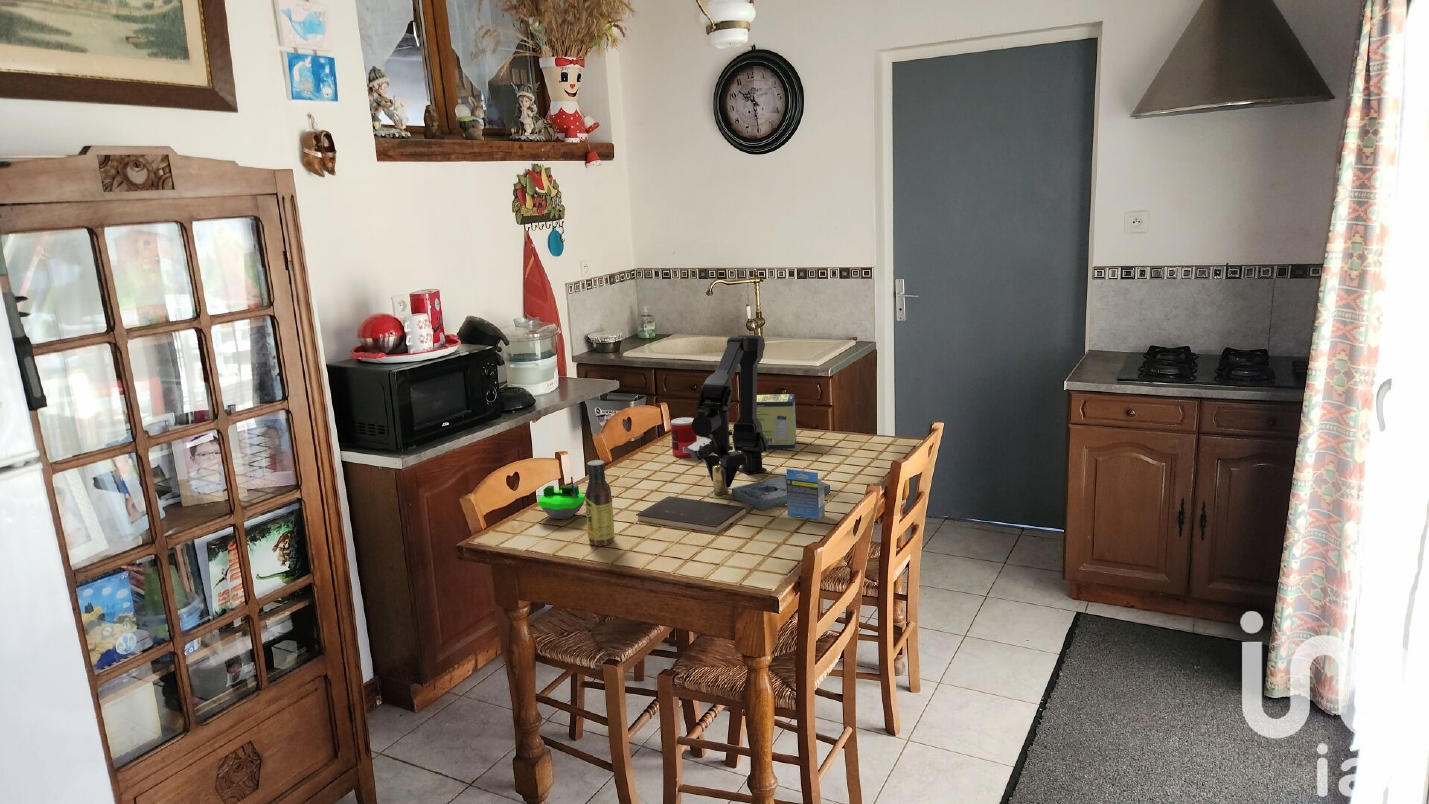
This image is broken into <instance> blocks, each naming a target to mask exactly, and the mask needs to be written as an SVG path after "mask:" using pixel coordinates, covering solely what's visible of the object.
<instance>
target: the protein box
mask: <svg viewBox="0 0 1429 804" xmlns="http://www.w3.org/2000/svg"><path fill="white" fill-rule="evenodd" d="M795 399H796V397H795V394H794V393H793V394H792V393H789V394H788V393H787V394H786V393H784V394H782V393H781V394H779V393H778V394H757V418H758V420H759V421H760V423H761V425H762V433H763V434H764V436H765V438H766V439H767V441H768V447H767V450H795V448H796V444H797V425H796V422H797V421H796V400H795Z"/></svg>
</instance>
